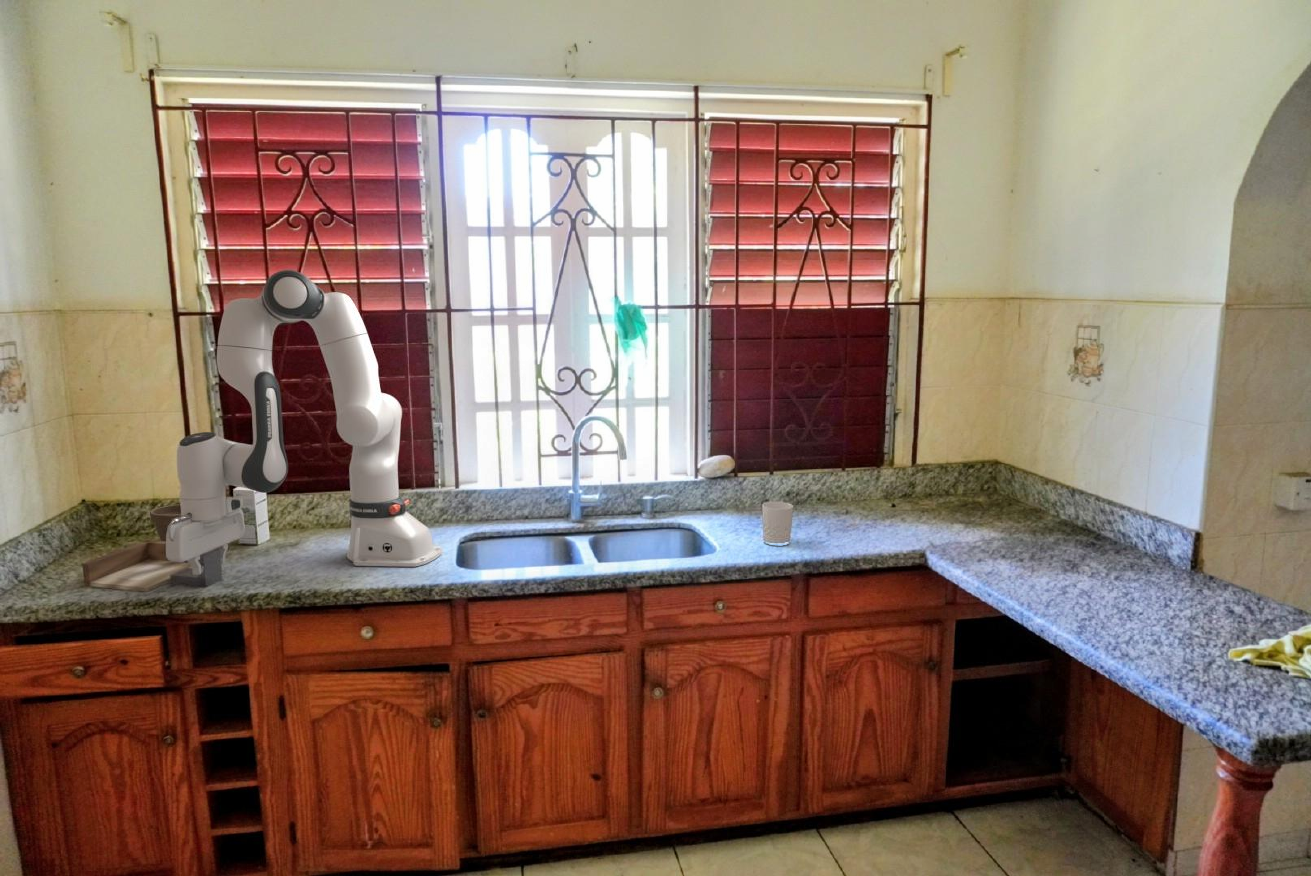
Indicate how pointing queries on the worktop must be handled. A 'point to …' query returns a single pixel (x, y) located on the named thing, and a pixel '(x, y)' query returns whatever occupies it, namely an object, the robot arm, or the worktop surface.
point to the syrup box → (253, 516)
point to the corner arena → (133, 568)
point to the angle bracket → (205, 579)
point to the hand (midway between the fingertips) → (209, 569)
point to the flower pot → (164, 518)
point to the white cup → (777, 521)
